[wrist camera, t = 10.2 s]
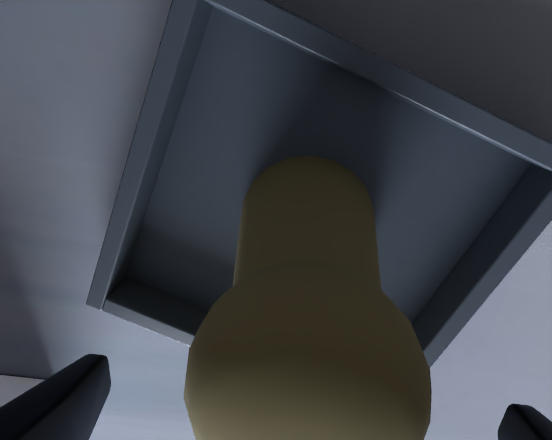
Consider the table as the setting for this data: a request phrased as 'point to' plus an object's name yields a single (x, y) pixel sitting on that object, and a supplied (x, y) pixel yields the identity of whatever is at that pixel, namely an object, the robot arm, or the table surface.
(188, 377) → the olive game pawn
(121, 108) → the table surface
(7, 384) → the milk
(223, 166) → the grey tray
